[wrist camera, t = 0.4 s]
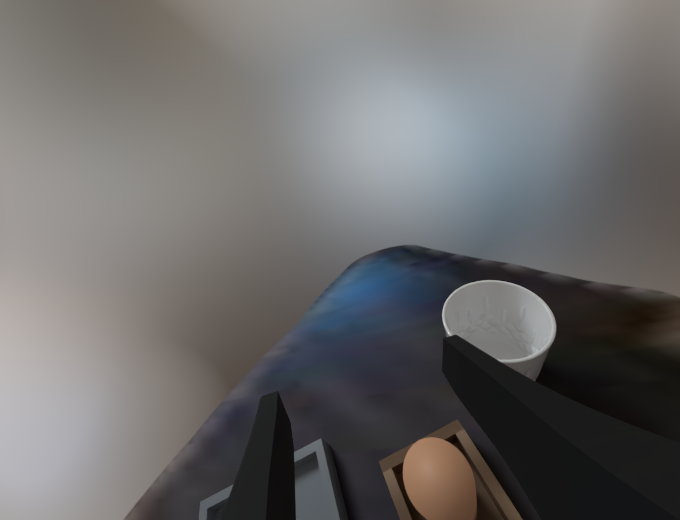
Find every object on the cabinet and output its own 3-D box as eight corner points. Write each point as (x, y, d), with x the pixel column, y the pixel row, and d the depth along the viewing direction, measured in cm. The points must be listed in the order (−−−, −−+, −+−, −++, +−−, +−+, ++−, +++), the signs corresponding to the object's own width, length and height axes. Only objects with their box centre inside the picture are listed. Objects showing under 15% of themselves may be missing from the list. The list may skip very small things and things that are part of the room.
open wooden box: (530, 544, 19) (537, 542, 16) (436, 598, 18) (430, 602, 16) (459, 432, 25) (457, 419, 22) (387, 470, 24) (378, 461, 22)
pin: (489, 522, 19) (493, 504, 14) (442, 548, 19) (426, 541, 14) (454, 460, 22) (446, 425, 17) (413, 482, 22) (391, 455, 17)
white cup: (480, 426, 24) (479, 379, 18) (436, 354, 31) (425, 301, 24) (559, 394, 24) (587, 336, 18) (499, 328, 30) (504, 267, 24)
